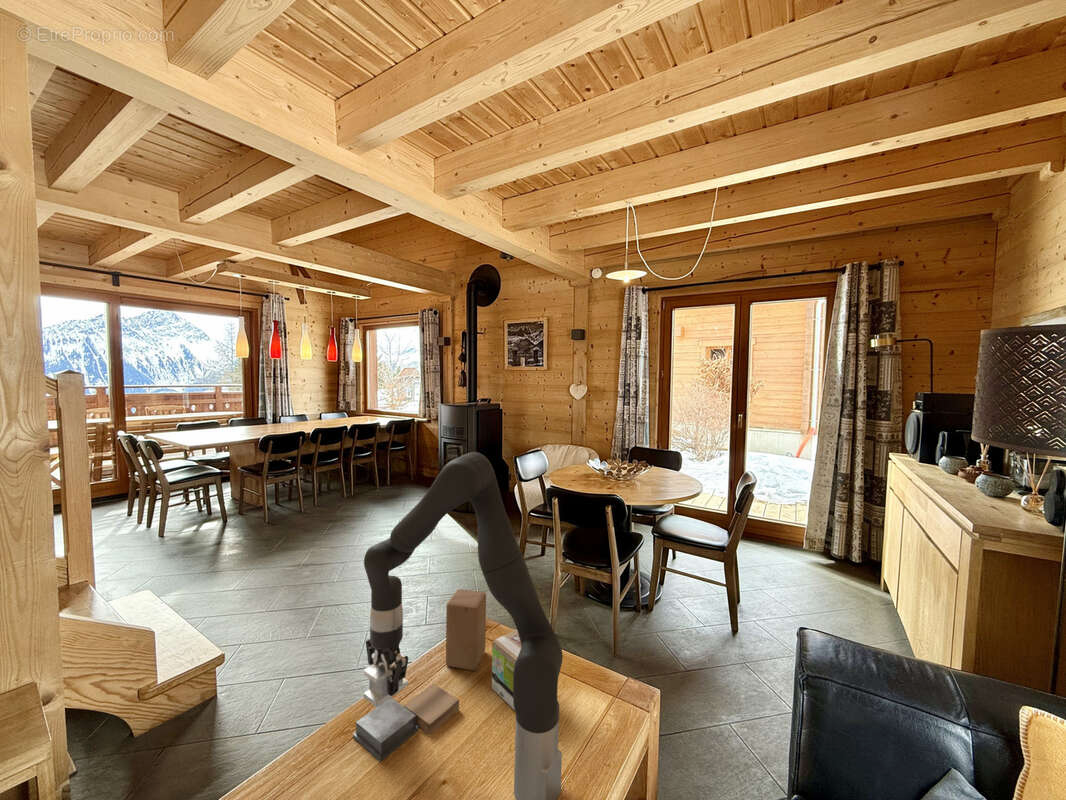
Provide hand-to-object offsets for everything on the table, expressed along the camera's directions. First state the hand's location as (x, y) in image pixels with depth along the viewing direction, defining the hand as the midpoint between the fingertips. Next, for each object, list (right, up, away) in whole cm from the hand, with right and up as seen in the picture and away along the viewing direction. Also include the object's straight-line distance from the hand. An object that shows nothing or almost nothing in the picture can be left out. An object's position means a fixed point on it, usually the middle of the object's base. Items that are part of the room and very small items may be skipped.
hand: (386, 688), depth 105 cm
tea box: (+33, -12, +14) cm, 38 cm away
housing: (0, -1, 0) cm, 1 cm away
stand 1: (0, -12, +1) cm, 12 cm away
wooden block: (+15, -11, +29) cm, 35 cm away
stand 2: (+9, -12, +7) cm, 17 cm away
